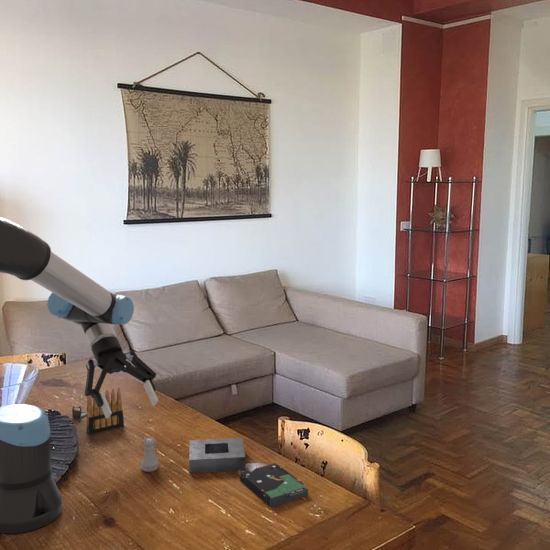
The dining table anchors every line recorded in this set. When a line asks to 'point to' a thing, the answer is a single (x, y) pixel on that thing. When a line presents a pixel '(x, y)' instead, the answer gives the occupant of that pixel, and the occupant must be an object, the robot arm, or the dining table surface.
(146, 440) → the rook chess piece
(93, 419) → the ammunition clip
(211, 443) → the grey square-hole block
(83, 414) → the strap clip
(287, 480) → the disk drive
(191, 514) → the dining table surface
